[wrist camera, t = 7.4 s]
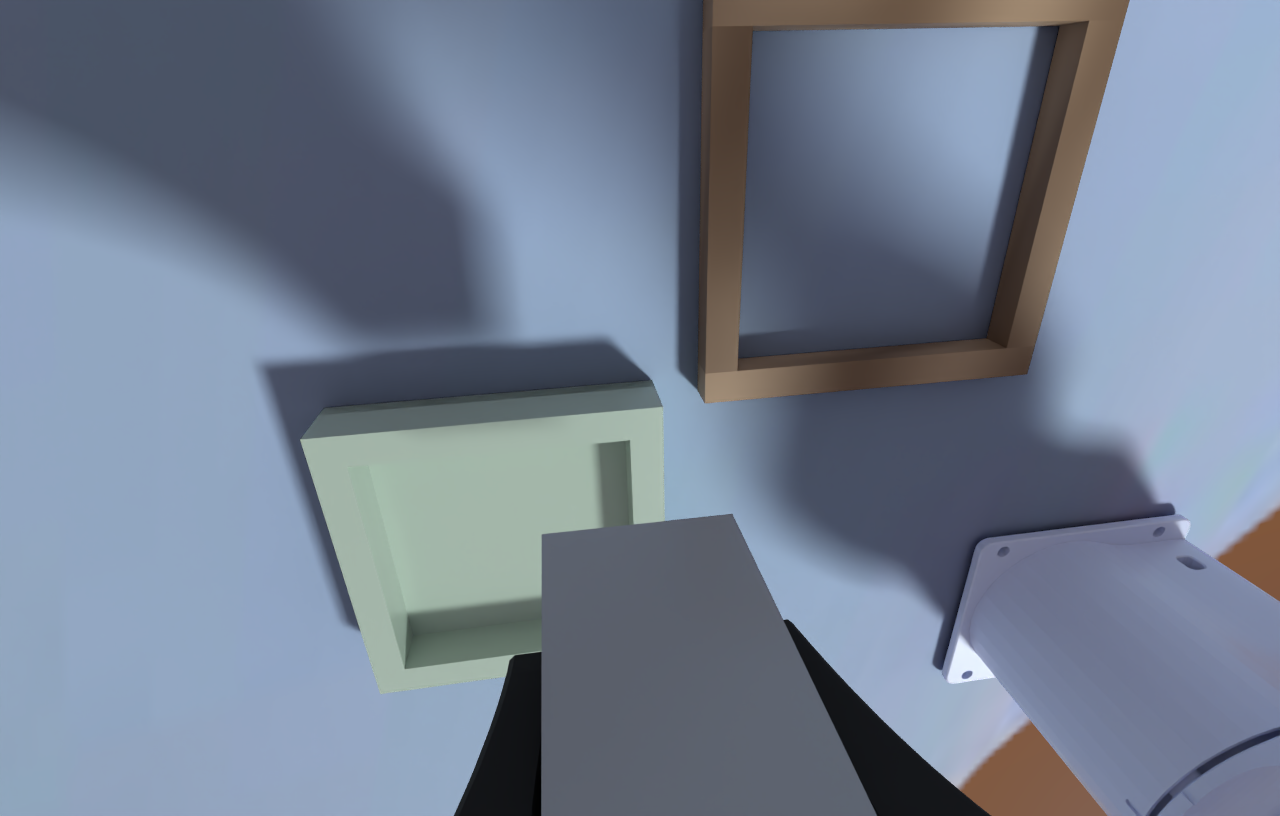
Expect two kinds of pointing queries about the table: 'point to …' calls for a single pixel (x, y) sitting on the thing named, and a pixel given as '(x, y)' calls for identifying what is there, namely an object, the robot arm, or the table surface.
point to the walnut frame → (1076, 83)
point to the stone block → (678, 682)
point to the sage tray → (474, 513)
